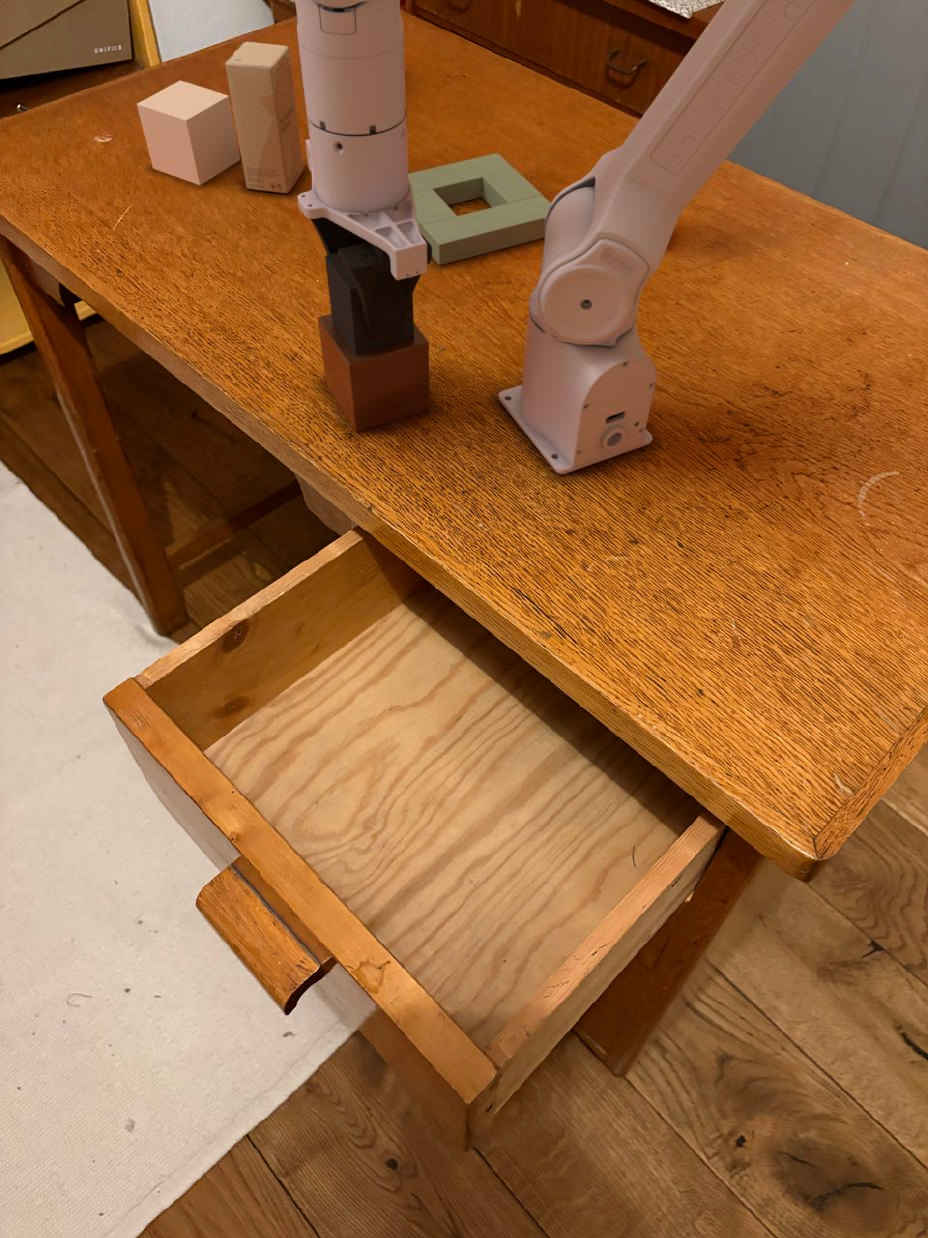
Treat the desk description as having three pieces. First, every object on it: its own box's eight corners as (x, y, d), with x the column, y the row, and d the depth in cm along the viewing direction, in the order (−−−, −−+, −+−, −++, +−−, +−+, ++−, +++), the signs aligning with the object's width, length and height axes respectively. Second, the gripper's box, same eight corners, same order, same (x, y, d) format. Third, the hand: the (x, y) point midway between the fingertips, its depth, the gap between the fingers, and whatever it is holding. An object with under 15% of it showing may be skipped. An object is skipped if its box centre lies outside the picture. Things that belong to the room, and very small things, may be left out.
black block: (414, 338, 63) (412, 273, 59) (355, 355, 62) (349, 289, 58) (388, 304, 65) (385, 239, 62) (332, 320, 64) (324, 255, 60)
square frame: (559, 233, 83) (561, 212, 81) (439, 265, 79) (439, 244, 78) (496, 172, 89) (498, 152, 88) (383, 199, 86) (382, 178, 84)
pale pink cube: (240, 159, 90) (229, 95, 85) (200, 185, 87) (186, 120, 82) (193, 143, 92) (180, 79, 87) (152, 168, 89) (136, 103, 84)
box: (288, 195, 86) (270, 68, 77) (245, 189, 86) (222, 63, 78) (305, 168, 89) (289, 43, 80) (263, 163, 90) (243, 38, 81)
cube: (430, 409, 68) (429, 341, 63) (355, 432, 66) (349, 364, 61) (397, 363, 71) (394, 295, 66) (325, 384, 69) (317, 316, 64)
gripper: (249, 74, 55) (281, 277, 66) (339, 186, 47) (358, 394, 58) (357, 54, 57) (371, 254, 68) (460, 158, 49) (457, 365, 60)
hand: (371, 317), depth 63 cm, fingers closed on black block, 4 cm apart
